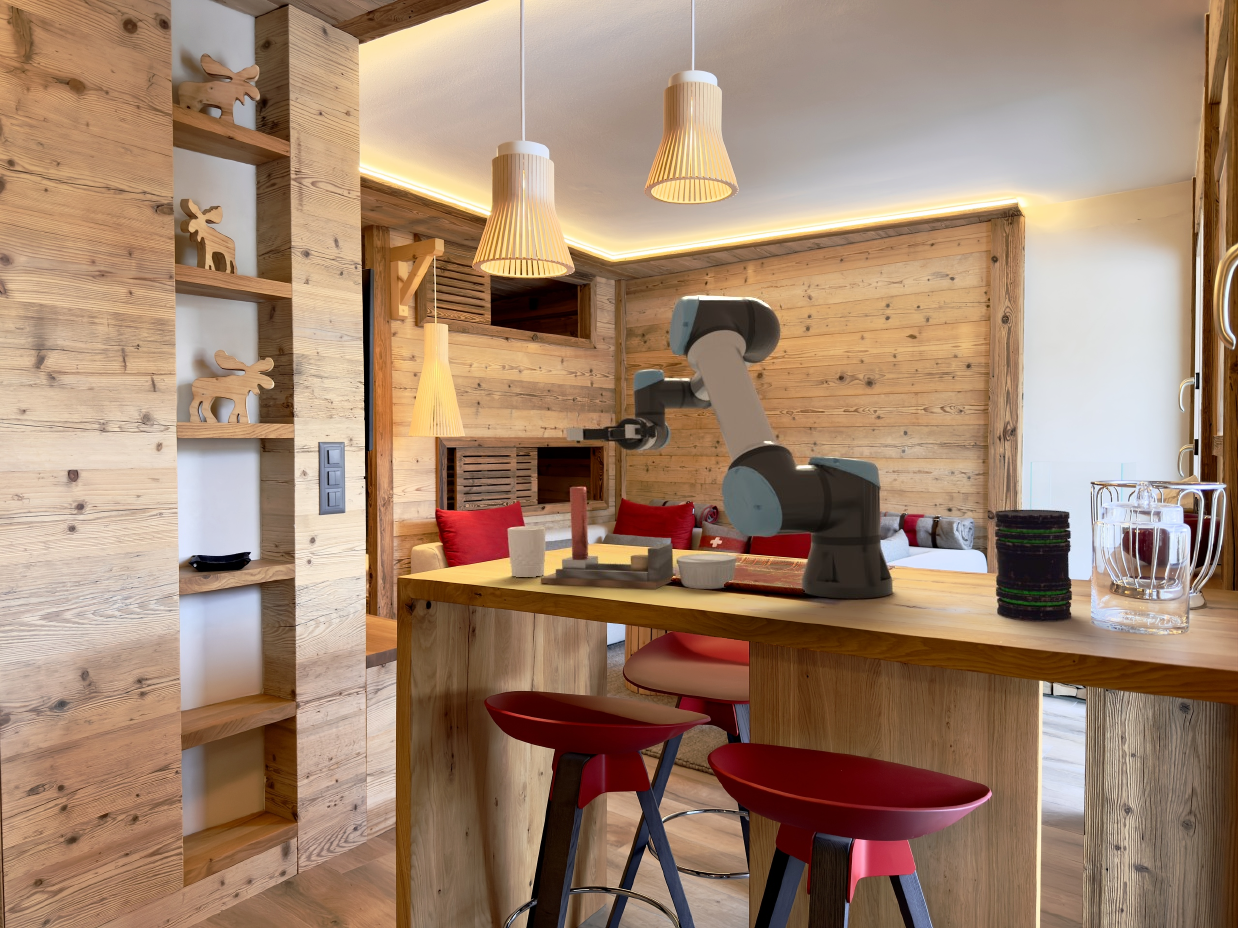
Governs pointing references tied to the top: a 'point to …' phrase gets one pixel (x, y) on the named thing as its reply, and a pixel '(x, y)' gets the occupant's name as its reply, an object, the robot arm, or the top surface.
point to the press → (621, 573)
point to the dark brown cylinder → (1033, 565)
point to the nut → (639, 563)
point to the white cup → (527, 550)
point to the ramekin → (706, 570)
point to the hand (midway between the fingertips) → (596, 432)
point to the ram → (579, 533)
